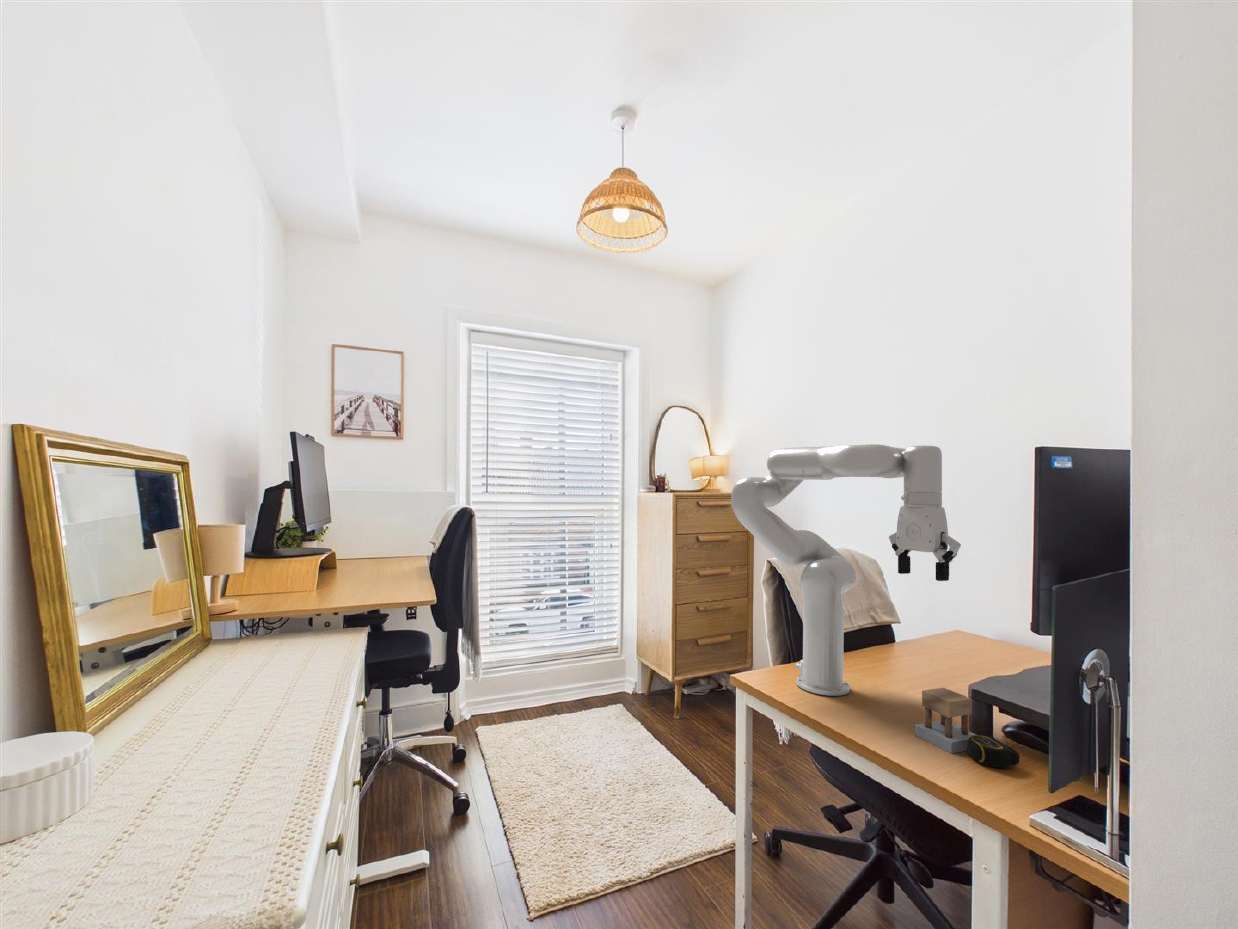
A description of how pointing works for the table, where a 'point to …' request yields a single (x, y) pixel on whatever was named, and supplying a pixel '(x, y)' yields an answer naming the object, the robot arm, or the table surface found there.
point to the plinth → (943, 736)
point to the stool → (946, 708)
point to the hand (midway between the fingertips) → (922, 576)
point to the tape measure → (991, 751)
